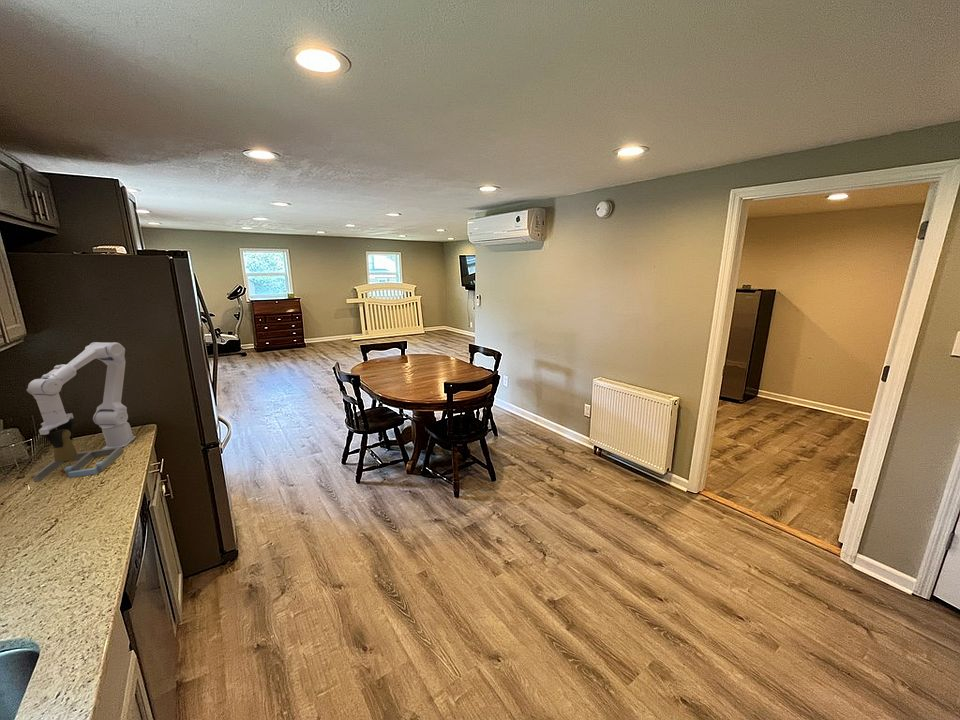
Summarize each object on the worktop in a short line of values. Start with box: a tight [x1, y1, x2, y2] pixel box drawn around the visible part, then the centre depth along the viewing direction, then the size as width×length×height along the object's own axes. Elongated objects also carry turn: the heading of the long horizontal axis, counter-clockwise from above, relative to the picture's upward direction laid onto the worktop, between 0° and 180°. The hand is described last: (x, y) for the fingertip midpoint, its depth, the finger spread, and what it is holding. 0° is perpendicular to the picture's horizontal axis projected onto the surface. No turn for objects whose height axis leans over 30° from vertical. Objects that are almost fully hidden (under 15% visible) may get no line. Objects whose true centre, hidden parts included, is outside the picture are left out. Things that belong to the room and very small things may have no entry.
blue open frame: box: [32, 447, 124, 483], centre depth 145 cm, size 16×19×3 cm
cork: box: [53, 429, 78, 462], centre depth 141 cm, size 6×6×11 cm
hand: (64, 443), depth 141 cm, fingers closed on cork, 5 cm apart
